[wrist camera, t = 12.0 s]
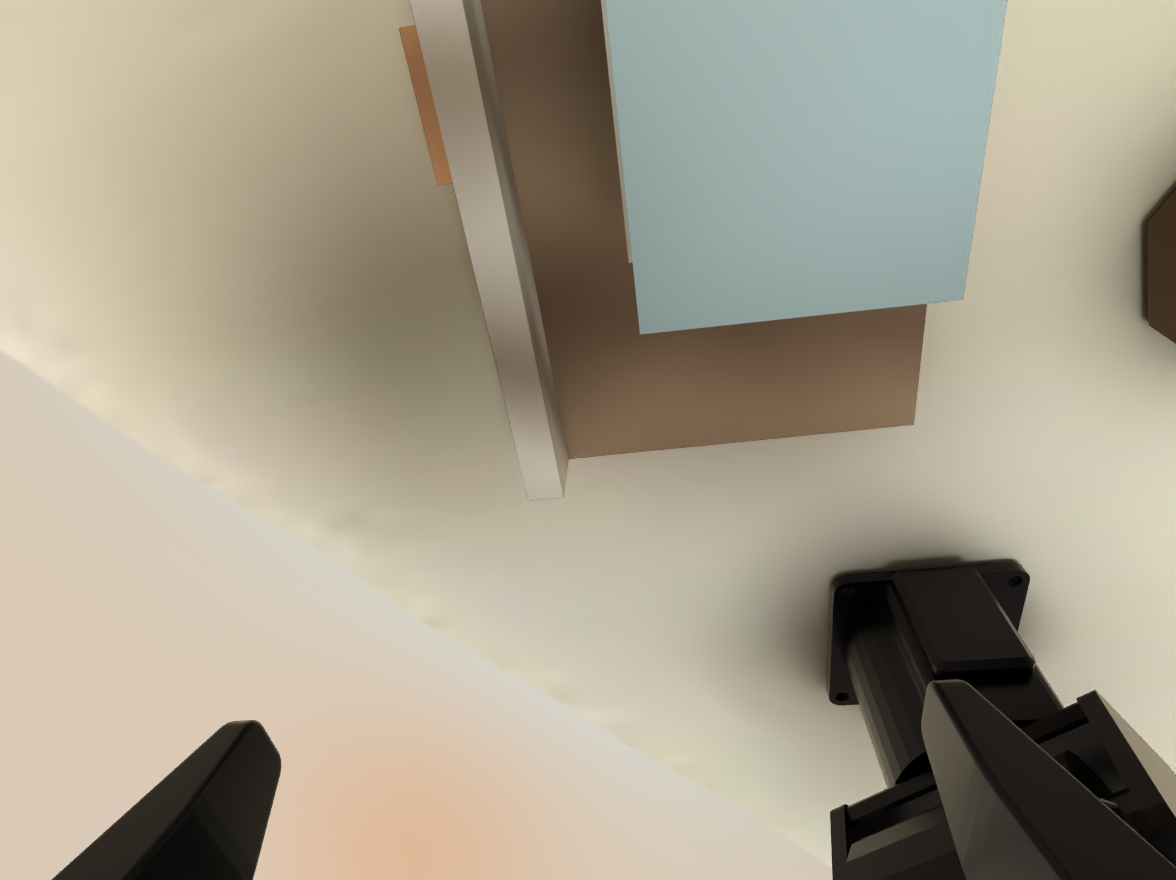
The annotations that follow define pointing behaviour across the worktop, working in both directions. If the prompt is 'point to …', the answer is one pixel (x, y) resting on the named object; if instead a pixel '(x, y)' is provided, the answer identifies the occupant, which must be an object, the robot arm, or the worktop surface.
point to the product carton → (798, 152)
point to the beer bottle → (1162, 268)
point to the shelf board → (610, 264)
